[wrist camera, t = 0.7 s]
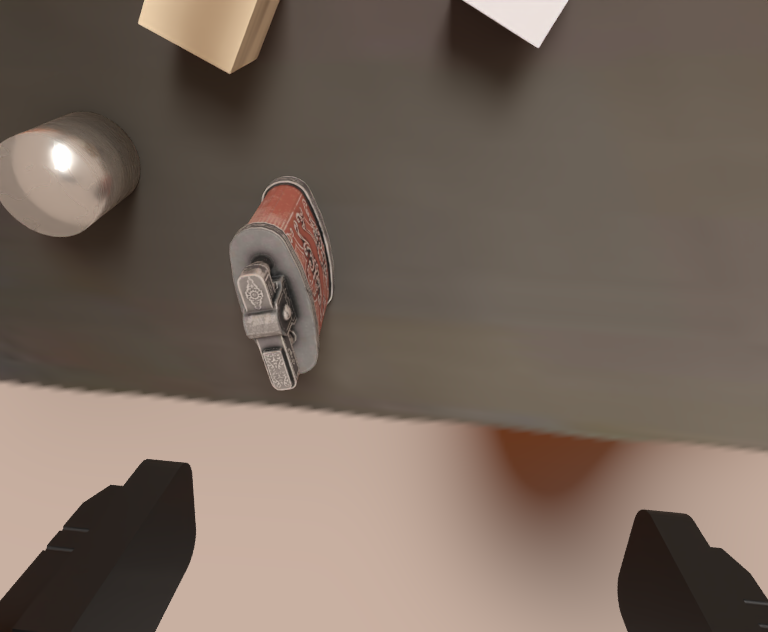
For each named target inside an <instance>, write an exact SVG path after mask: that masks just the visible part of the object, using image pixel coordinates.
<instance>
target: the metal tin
mask: <svg viewBox="0 0 768 632" xmlns="http://www.w3.org/2000/svg"><path fill="white" fill-rule="evenodd" d="M140 170H141V169H140V160H139V156H138V153H137V150H136V148H135V146H134V144H133V142H132V141H131V139H130V138H129V136H128V135H127V134H126V133H125V132H124V131H123V129H121V128H120V127H119V126H118V125H117V124H115V123H114V122H113V121H111V120H110V119H108V118H106V117H104V116H102V115H99V114H96V113H92V112H86V111H78V112H72V113H69V114H66V115H64V116H61V117H59V118H56V119H54V120H52V121H49V122H47V123H44V124H42V125H39V126H37V127H34V128H32V129H30V130H27V131H25V132H22V133H20V134H17V135H15V136H13V137H10V138H8V139H6V140H5V141H3V142H2V143H1V144H0V202H1V203H2V204H3V206H4V207H5V208H6V209H7V211H8V212H9V213H10V214H11V215H12V216H13V217H14V218H15V219H17V220H18V221H19V222H21V223H22V224H23V225H25V226H27V227H28V228H30V229H32V230H34V231H36V232H39V233H41V234H45V235H48V236H54V237H68V236H73V235H76V234H78V233H80V232H82V231H84V230H85V229H87V228H88V227H89V226H90V225H92V224H93V223H94V222H95V221H97V220H98V219H99V218H100V217H102V216H103V215H104V214H106V213H107V212H108V211H109V210H111V209H112V208H113V207H114V206H116V205H117V204H118V203H120V202H121V201H122V200H123V199H125V198H126V197H127V196H128V195H130V194H131V193H132V192H133V190H134V189H135V188H136V186H137V184H138V181H139V178H140Z"/></svg>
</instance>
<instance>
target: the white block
mask: <svg viewBox="0 0 768 632" xmlns="http://www.w3.org/2000/svg"><path fill="white" fill-rule="evenodd" d="M462 1H464V2H465V3H467V4H469V5H470V6H472V7H473V8H475V9H476V10H478V11H479V12H481V13H483V14H484V15H486V16H487V17H489V18H490V19H492V20H493V21H495V22H497V23H498V24H500V25H501V26H503V27H504V28H506V29H508V30H509V31H511V32H512V33H514V34H515V35H517V36H518V37H520V38H522V39H523V40H525V41H527V42H528V43H530V44H532V45H534V46H535V47H537V48H539V47H540V45H541V43H542V42H543V40H544V38H545V37H546V35H547V34H548V32H549V30H550V29H551V27H552V26H553V24H554V22H555V21H556V19H557V18H558V16H559V14H560V13H561V11H562V10H563V8H564V6H565V5H566V3H567V2H568V0H462Z"/></svg>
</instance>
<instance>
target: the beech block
mask: <svg viewBox="0 0 768 632" xmlns="http://www.w3.org/2000/svg"><path fill="white" fill-rule="evenodd" d="M279 1H280V0H144V4H143V7H142V11H141V14H140V18H139V22H138V24H140V25H142V26H143V27H145V28H147V29H149V30H151V31H153V32H154V33H156V34H158V35H160V36H162V37H163V38H165V39H167V40H169V41H171V42H173V43H174V44H176V45H178V46H180V47H182V48H183V49H185V50H187V51H189V52H191V53H193V54H194V55H196V56H198V57H200V58H202V59H203V60H205V61H207V62H209V63H211V64H213V65H214V66H216V67H218V68H220V69H222V70H223V71H225V72H227V73H229V74H231V73H233V72H235V71H236V70H238V69H240V68H242V67H243V66H245V65H247V64H249V63H251V62H252V61H254V60H256V59H257V57H258V55H259V52H260V50H261V47H262V45H263V42H264V39H265V37H266V34H267V32H268V29H269V26H270V24H271V21H272V19H273V16H274V14H275V11H276V8H277V6H278V3H279Z"/></svg>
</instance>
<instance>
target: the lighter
mask: <svg viewBox="0 0 768 632" xmlns="http://www.w3.org/2000/svg"><path fill="white" fill-rule="evenodd" d="M229 252H230V260H231V267H232V274H233V282H234V285H235V289H236V293H237V297H238V300H239V304H240V308H241V311H242V314H243V327H244V329H245V332H246V335H247V337H248V338H249V339H253V340H254V341H255V342H256V344H257V346H258V348H259V349H260V352H261V355H262V358H263V361H264V364H265V366H266V369H267V372H268V375H269V378H270V381H271V383H272V385H273V387H274V388H275V389H277V390H289V389H293V388H294V387H295V386H296V383H297V380H298V376H299V374H302V373H306V372H307V371H309V370H311V369H312V368H313V367H314V365H315V364H316V362H317V358H318V353H319V334H320V330H321V326H322V322H323V318H324V314H325V310H326V306H327V304H328V303H329V302H330V300H331V299H332V295H333V290H334V264H333V258H332V252H331V246H330V240H329V236H328V233H327V230H326V227H325V224H324V221H323V218H322V215H321V212H320V210H319V208H318V206H317V203H316V201H315V199H314V197H313V195H312V192H311V190H310V188H309V187H308V186H307V184H306V183H305V182H303V181H302V180H300V179H299V178H295V177H292V176H283V177H280V178H277V179H275V180H273V181H272V182H271V183H270V184H269V185H268V187H267V188H266V190H265V192H264V193H263V196H262V203H261V204H260V206H259V207H258V209H257V210H256V212H255V213H254V215H253V217H252V218H251V220H250V221H249V223H248V224H247V225H245V226H244V227H242V228H241V229H240V230H238V232H237V233H236V235H235V236H234V238H233V240H232V242H231V243H230V251H229Z"/></svg>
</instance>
